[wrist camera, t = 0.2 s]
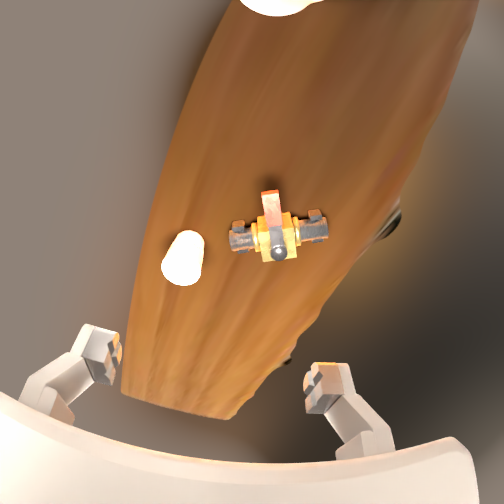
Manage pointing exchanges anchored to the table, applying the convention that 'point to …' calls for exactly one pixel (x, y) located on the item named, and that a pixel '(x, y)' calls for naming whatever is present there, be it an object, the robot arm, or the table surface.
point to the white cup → (184, 258)
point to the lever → (274, 224)
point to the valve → (292, 234)
